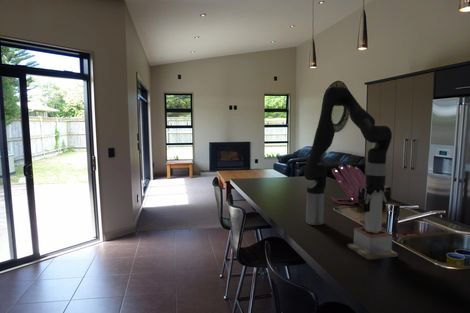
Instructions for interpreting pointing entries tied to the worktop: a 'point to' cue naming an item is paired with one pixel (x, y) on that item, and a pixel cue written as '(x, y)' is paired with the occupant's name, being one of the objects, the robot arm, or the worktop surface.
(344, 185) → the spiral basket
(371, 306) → the worktop surface
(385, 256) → the base board
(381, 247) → the sleeve
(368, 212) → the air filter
